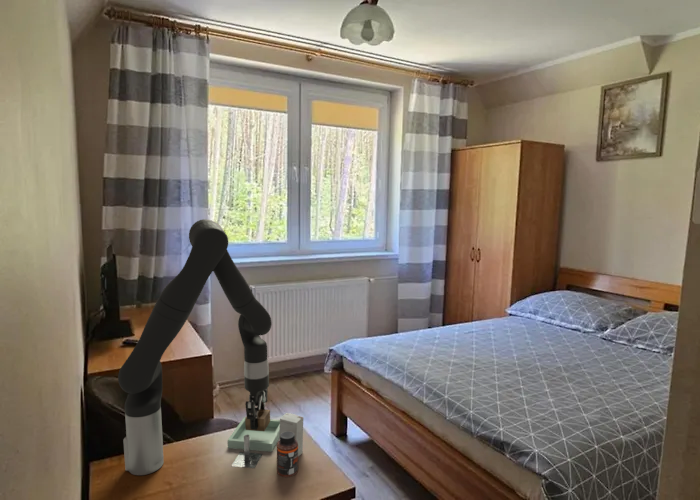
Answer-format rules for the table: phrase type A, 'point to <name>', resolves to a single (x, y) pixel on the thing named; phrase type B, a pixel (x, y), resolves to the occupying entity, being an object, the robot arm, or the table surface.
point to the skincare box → (293, 428)
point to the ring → (260, 420)
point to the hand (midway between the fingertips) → (257, 423)
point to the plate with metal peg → (247, 456)
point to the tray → (256, 437)
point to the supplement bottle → (287, 454)
